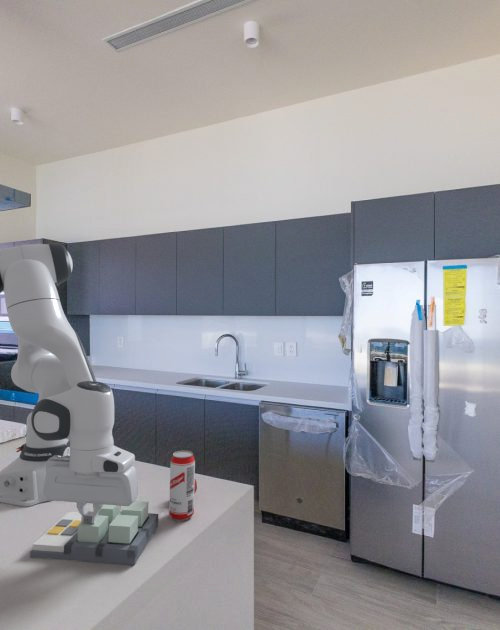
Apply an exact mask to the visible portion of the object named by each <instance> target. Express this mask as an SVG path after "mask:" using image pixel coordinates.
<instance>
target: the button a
mask: <svg viewBox="0 0 500 630" xmlns="http://www.w3.org/2000/svg"><path fill="white" fill-rule="evenodd" d="M107 532H108V516H101V515H98V520H97V522H96V523H95V524H94V523H82V522H81V523H80V524H79V525H78V542H89V543H99V542H100V541H101V540H102V538H103V537H104V536H105V535H106V534H107Z"/></svg>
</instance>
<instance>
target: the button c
mask: <svg viewBox="0 0 500 630" xmlns="http://www.w3.org/2000/svg"><path fill="white" fill-rule="evenodd" d="M137 532H138V516H132V515H117V516H116V518H115V519H114V520H113V521H112V522H111V523H110V525H109V541H108V542H115V543H129V544H130V542H131V541H132V539H133V538H134V536H135V535H136V533H137Z"/></svg>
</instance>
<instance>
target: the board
mask: <svg viewBox="0 0 500 630" xmlns="http://www.w3.org/2000/svg"><path fill="white" fill-rule="evenodd" d="M121 515H122V511H121ZM80 523H81V514H80V512H79V511H78V512H77V511H68V512H67V513H66V514H65V515H63V517H61V519H60V520H58V521H57V522H56V523H55V524H54V525H53V526H52V527H50V528H49V529H48V530H47V531H46V532H45V533H43V534H42V535H41V537H39V538H38V539H37V540H36V541H35V542H34V543H33V544H32V549H31V550H30V551H29V558H35V559H46V560H47V559H48V560H49V559H50V560H61V561H73V562H87V563H99V564H101V563H102V564H113V565H127V566H136V564H137V562H138V560H139V559H140V557H141V555H142V553H144V550H145V548H146V547H147V545H148V543H149V542H150V540H151V539H152V537H153V535H154V533H156V530H157V529H158V527H159V513H150V512H148V517H147V519H146V520H145V522H144V523H143V525H142V526H138V532H137V533H136V535H135V536H134V538H133V539H132V541H131V542H130V544H129V543H115V542H108V541H109V525H110V524H108V532H107V534H106V535H105V536H104V537H103V538H102V540H101V541H100V542H99V543H89V542H78V525H79V524H80Z"/></svg>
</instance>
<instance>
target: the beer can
mask: <svg viewBox="0 0 500 630" xmlns="http://www.w3.org/2000/svg"><path fill="white" fill-rule="evenodd" d="M169 468H170V469H169V471H170V473H169V476H170V477H169V505H168V506H169V508H168V509H169V510H168V514H169V517H170V518H171V519H172V520H174V521H176V522H185V521H188V520H189V519H191V518H192V517H193V515H194V513H195V494H194V483H195V480H196V478H195V477H196V476H195V473H196V471H195V469H196V460H195V457H194V453H193V452H192V451H191V450H183V449H182V450H176V451H174V452H173V454H172V457H171V459H170V467H169ZM190 517H191V518H190Z"/></svg>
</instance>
